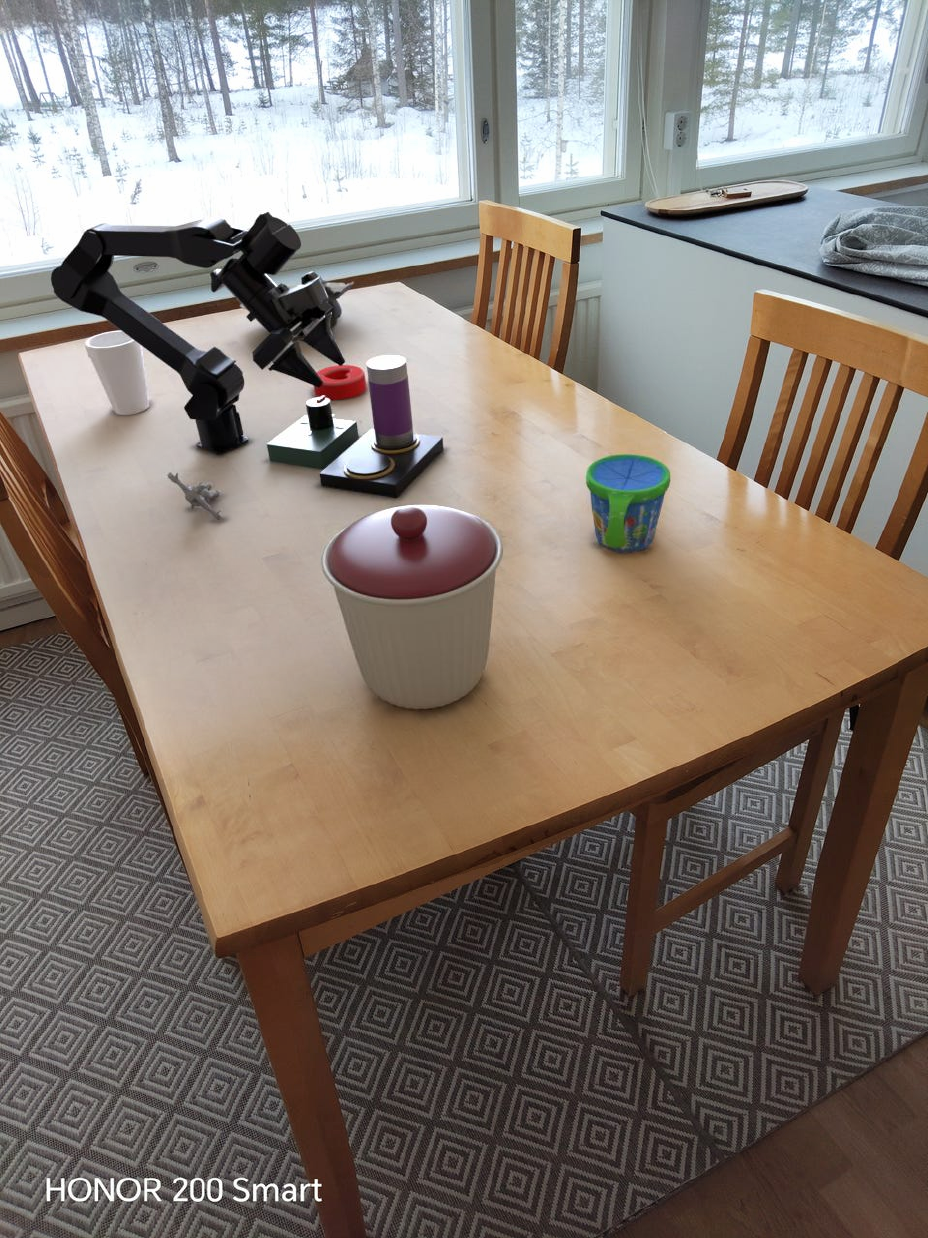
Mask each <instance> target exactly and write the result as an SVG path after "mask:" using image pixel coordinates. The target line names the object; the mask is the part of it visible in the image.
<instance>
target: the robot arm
mask: <svg viewBox="0 0 928 1238" xmlns="http://www.w3.org/2000/svg"><path fill="white" fill-rule="evenodd" d="M301 247H302V241H301V238H300V236H299V234H298V232H297V231H296V230H295V229H294V227H293V226H291V224H288V223H287V222H285V221H284V220H282V219H280V218H278V217H276V216H273V215H272V214H271V213H270V212H269V211H268V210H265V211H263V212H262V213H260V214H259V215H258V216H257V218H255V221H254V223H253V224H252V226H251V227H250V228H249V230H248V229H244V228H241V227H236V226H233V225H230V224H229V222H227V220H226V219H225V218H222V217H218V216H212V217H208V218H202V219H198V220H194V221H191V222H187V223H184V224H179V225H124V224H123V225H121V224H119V225H115V224H108V223H100V224H98V225H95V226H93V227H90V228H88V229H86V230H85V231H84V232H83V234H82V236H81V237H80V239H79V241H78V243H77V244H76V245H75V247H74V248H73V249H72V250H71V251H70V253H69V254H68V255H66V257H65V259H64V260H63V261H62V263H61V264H60V265H59V266H57V267H55V268H54V269H53V271H51V275H50V281H51V286H52V288H53V293H54V295H55V296H56V297H57V298H58V299H59V300H60V301H61V302H63V303H65V304H66V305H68V306H70V307H71V308H74V309H76V310H78V311H80V312H82V313H86V314H89V315H95V316H98V317H102V318H103V319H105V320H106V321H108V322H109V323H110V324H111V325H113V326H114V327H116V328H117V329H118V330H119V331H120V330H121V331H122V332H124V333H125V334H126V335H128V336H129V337H131V338H132V339H133V340H135V341H136V342H137V343H139V344H140V345H141V346H143V348H144V349H145V350H147V351H148V353H151V354H152V355H153V356H154V357H156V358H158V359H159V360H160V361H161V362H163V363H164V364H166V365H167V366H168V367H169V368H171V369H172V370H173V371H175V372H176V373H177V374H178V375H179V376H180V378H181V380H182V382H183V384H184V386H185V388H186V390H187V391H188V392H189V394H191V395H192V396H191V397H190V399H189V400H188V401H187V403H186V404H185V405H184V407H183V409H184V411H185V413H186V415H187V417H188V418H189V420H195V424H196V429H197V432H198V437H199V441H198V442H196V443H195V446H196V448H199V449H201V450H204V451H206V452H210V453H212V454H215V455H223V454H225V453H227V452H229V451H232V450H234V449H235V448H238V447H240V446H242V445H245V444H246V443H249V438H248V437H247V436H244V430H243V429H244V428H243V424H242V420H241V416H240V415H241V414H240V412H239V411H237V406H236V405H235V403H237V402H238V401H239V399H240V393H241V392H242V391H243V390H244V387H245V377H244V372H243V370H242V369H241V368H240V367H239V366H238V365H237V364H235V363H236V362H237V360H236V359H233V358H231V357H229V356H228V355H227V354H225V353H224V352H223V350H221V349H220V348H219V347H216V346H212V347H211V348H209V349H208V350H207V351H205V350H201V349H199V348H196V347H195V346H193V345H192V344H191V343H189V342H188V341H187V340H185V339H184V338H183V337H182V336H181V335H179V334H178V333H176V332H175V331H174V330H172V329H171V328H170V327H168V326H167V325H166V324H164V323H163V322H162V321H161V320H159V319H158V318H156V317H155V316H154V315H152V314H151V313H150V312H149V311H147V310H146V309H144V308H143V307H142V306H140V305H139V304H138V303H136V302H135V301H134V300H132V299H131V298H130V297H128V296H127V295H126V294H124V292H122V290H121V289H120V287H119V284H118V282H117V281H116V278H115V276H114V275H113V274H112V273H111V272H110V269H111V268H112V266H113V264H114V260H115V257H145V258H146V257H148V258H149V257H151V258H152V257H153V258H155V257H156V258H170V259H175V260H177V261H179V262H181V263H183V264H184V265H189V266H193V267H196V268H197V267H198V268H202V269H209V268H212V267H213V266H215V265H217V264H219V263H221V262H222V261H224V260H227V259H229V258H230V259H229V260H228V261H227V262H226V263H225V264H224V266H223V267H222V268H216V269H214V270H213V271H211V272H210V273H209V275H210V290H211V292H212V293H216V292H218V291H220V290H221V289H223V288H224V287H225V288H226V289H227V290H228V291H229V292H230V294H232V296H233V297H234V298H235V299H236V300H237V301H238V302H239V304H240V305H241V304H242V305H243V306H244V307H245V308H246V309H245V310H247V312H248V314H247V315H246V316H245V318H246V319H247V320H248V321H249V322H250V323H252V322H254V321H257V322H258V324H260V326H261V327H262V328H263V329H264V330H265V331H266V332H267V333H268V334H267V335H266V337H265V338H264V339H262V341H261V342H260V343H259V344H257V346H256V347H255V349H253V351H252V352H251V354H252V361H253V362H254V364H256V365H257V367H258V368H259V369H260V370H261V371H263V370H264V369H266V368H267V367H268V366H269V367H268V371H269V372H272V371H275V372H278V373H280V374H284V375H286V376H289V377H292V378H294V379H297V380H299V381H301V382H304V383H306V384H308V385H310V386H313V387H314V386H316V387H318V388H319V387H321V386H322V385H323V381H322V379H321V378H320V376H319V375H318V374H317V372H318V371H316V370H315V368H314V367H313V366H312V365H311V363H310V362H309V361H308V360H307V358H306V357H305V356H304V355H303V353H302V350H301V349H302V347H301V342H300V341H302V342H303V343H305V344H306V345H308V346H309V347H311V348H312V349H313V350H315V351H316V352H318V353H319V354H321V355H322V356H324V357H325V358H326V359H328V360H330V361H332V362H333V363H334V364H335V365H337V366H338V365H340V366H342V365H345V363H346V359H345V357H344V355H343V353H342V351H341V349H340V347H339V345H338V343H337V341H336V339H335V337H334V334H333V332H332V329H330V318H331V316H332V313H331V312H330V313H329V314H328V315H327V316H324V315H325V314H326V313H327V312H328V311H329V310H330V309H331V308H332V306H331V305H330V304H329V303H328V302H327V301H326V299H328V296H327V293H326V291H325V287H326V285H327V283H328V282H327V281H326V280H324V279H323V278H322V277H321V276H320V275H318V273H316V272H315V271H314V270H312V271H310V272H307V273H305V274H303V275H302V276H301V281H300V283H301V284H298V285H296V286H297V287H295V288H293V289H291V290H290V289H289V288H288V287H289V286H287V285H286V284H285V283H282V282H280V283H279V284H276V283H275V282H274V281H273V280H272V278H270V277H269V276H270V275H271V276H276V275H278V274H279V272H281V270H282V269H283V268H284V267H285V266H286V265H287V264H288V262H289V261H290V260H292V258H293V257H294V256H295V255H296V254H297V253H298V251H299V250H300V249H301ZM239 252H241V253H242V254H241V255H240V256H239V257H233V256H234V255H236V254H238V253H239ZM232 257H233V258H232ZM267 274H268V275H267ZM297 335H300V336H302V337H303V336H304V335H306V337H305V338H304V339H300V338H297V339H296V340H295V338H296V336H297ZM293 340H295V341H294V342H293ZM271 363H272V364H271Z"/></svg>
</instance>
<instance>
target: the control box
mask: <svg viewBox="0 0 928 1238" xmlns="http://www.w3.org/2000/svg"><path fill="white" fill-rule="evenodd" d="M335 415H336V414H335V413H334V414H333V413H332V416H333V422H334V424H333V425H332V426H331V427H329V428H327V429H322V430H316V429H312V428H310V426H309V420H308V414H305V415H303V416H302V417H300V418H299V419H298V420H296V421H294V422H293V424H291V425H290V426H289V427H287V428H286V429H284V430H283V431H282V432H280V433H279V434H278V435H277V436H275V437H274V438H273V439H271V440H270V441H269V442H267V443H266V448H267V453H268V454H267V455H268V458H269V462H275V463H281V464H288V465H293V466H294V465H295V466H301V467H309V468H313V469H314V468H315V469H321V470H324V469H325V468H326V467H327V466H328V465H330V464H331V463H332V462H333V461H334V460H335V459H337V458H338V457H339V456H340V455H341V454H342V453H344V452H345V451H346V450H347V449H348V448H349V447H350V446H352V445H353V444H354V443H355V442H356V441H357V440H359V439H360V436H359V427H358V421H357V420H351V419H350V420H348V419H341V418H335Z"/></svg>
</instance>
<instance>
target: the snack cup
mask: <svg viewBox="0 0 928 1238" xmlns="http://www.w3.org/2000/svg"><path fill="white" fill-rule="evenodd" d="M670 483H671V471H670V470H669V468H668V466H667V465H666V464H664V463H663V462H662V461H660V460H658V459H656V458H653V457H650V456H647V455H641V454H632V453H622V454H621V453H619V454H612V455H608V456H605V457H601V458H599V459H597V460H595V461H594V462H592V463H591V464H590V465H589V466H588V468H587V469H586V474H585V485H586V487H587V489H588V490H589V493H590V495H589V496H590V504H591V513H592V517H593V526H594V535H595V537H596V540H597V544H598V546H603V547H604V548H606V549H607V550H610V551H612V552H616V553H618V554H623V553H636V552H639V551H642V550H646V549H648V548H649V547H650V545H651V544H652V542H653V540H654V538H655V534H656V531H657V526H658V523H659V519H660V515H661V512H662V508H663V504H664V500H665V494H666V492H667V491H668V489H669V488H670Z"/></svg>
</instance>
